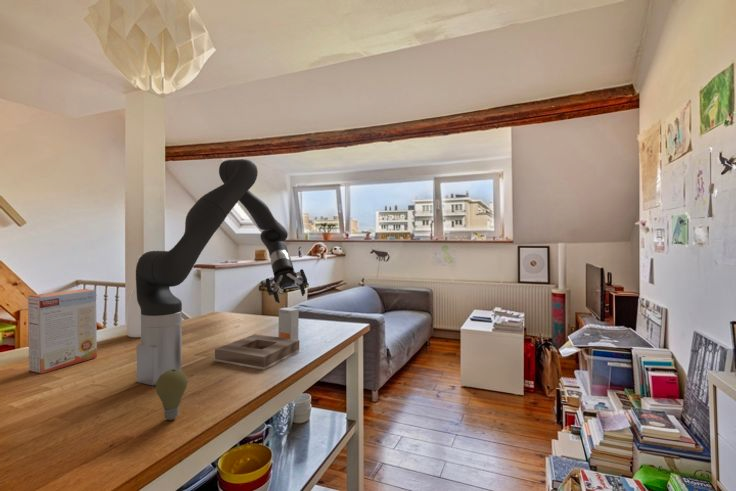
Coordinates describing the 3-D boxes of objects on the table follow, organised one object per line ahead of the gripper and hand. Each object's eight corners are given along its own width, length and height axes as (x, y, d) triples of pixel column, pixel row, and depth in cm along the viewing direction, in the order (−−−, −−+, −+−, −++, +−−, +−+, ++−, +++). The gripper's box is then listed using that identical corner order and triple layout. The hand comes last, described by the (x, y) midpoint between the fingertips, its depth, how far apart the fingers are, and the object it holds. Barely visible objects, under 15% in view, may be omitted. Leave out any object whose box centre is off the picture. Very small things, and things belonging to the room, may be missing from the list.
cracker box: (84, 355, 106) (84, 288, 106) (97, 358, 104) (97, 289, 104) (26, 371, 93) (26, 294, 93) (40, 374, 91) (40, 296, 91)
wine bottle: (120, 337, 126) (120, 256, 125) (138, 331, 135) (138, 254, 135) (145, 338, 125) (146, 256, 125) (162, 331, 135) (162, 255, 134)
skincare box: (277, 342, 123) (278, 308, 122) (285, 339, 126) (286, 306, 126) (291, 344, 120) (291, 310, 120) (298, 341, 123) (299, 308, 123)
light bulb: (192, 412, 72) (192, 365, 72) (178, 426, 67) (178, 375, 67) (165, 412, 72) (165, 365, 72) (149, 426, 67) (149, 375, 66)
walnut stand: (264, 369, 96) (264, 357, 96) (214, 360, 103) (214, 348, 103) (299, 350, 113) (299, 340, 113) (254, 344, 120) (255, 334, 120)
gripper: (260, 263, 125) (268, 297, 114) (299, 253, 128) (309, 285, 118) (264, 275, 130) (272, 310, 120) (301, 266, 134) (312, 298, 123)
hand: (290, 298), depth 119 cm, fingers open, 8 cm apart
